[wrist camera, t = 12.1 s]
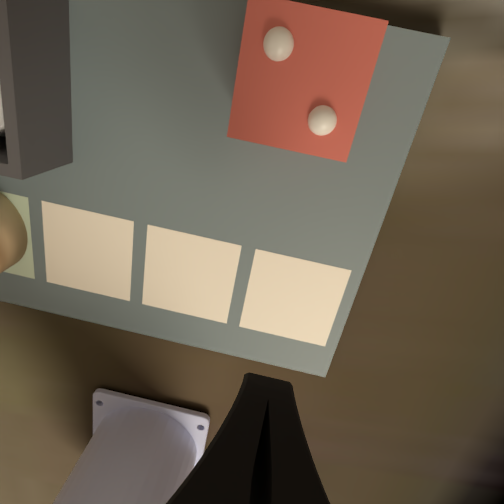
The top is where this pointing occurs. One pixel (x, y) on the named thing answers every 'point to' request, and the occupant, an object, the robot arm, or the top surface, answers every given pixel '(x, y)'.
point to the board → (188, 179)
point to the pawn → (11, 234)
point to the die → (303, 76)
